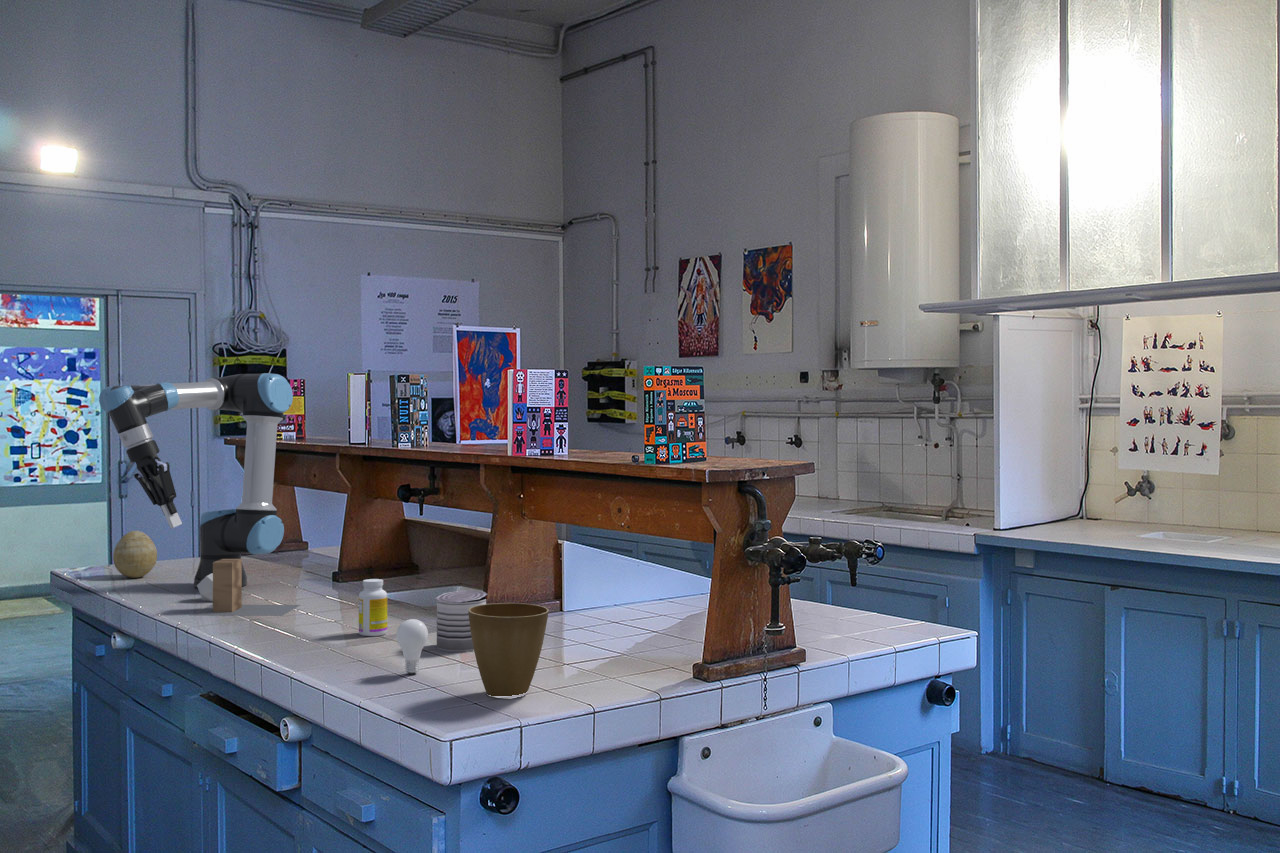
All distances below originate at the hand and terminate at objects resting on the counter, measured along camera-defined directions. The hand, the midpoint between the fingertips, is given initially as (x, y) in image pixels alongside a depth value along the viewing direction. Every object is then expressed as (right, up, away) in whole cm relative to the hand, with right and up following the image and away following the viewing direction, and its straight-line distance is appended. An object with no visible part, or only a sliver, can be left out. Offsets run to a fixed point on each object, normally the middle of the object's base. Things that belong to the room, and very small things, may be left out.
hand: (176, 526), depth 286 cm
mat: (+19, -23, -1) cm, 30 cm away
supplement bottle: (+60, -23, -30) cm, 71 cm away
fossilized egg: (-38, -22, +58) cm, 72 cm away
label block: (+14, -22, -2) cm, 26 cm away
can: (+83, -23, -43) cm, 96 cm away
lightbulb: (+77, -24, -70) cm, 107 cm away
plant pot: (+98, -24, -85) cm, 132 cm away
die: (+5, -23, +13) cm, 27 cm away
